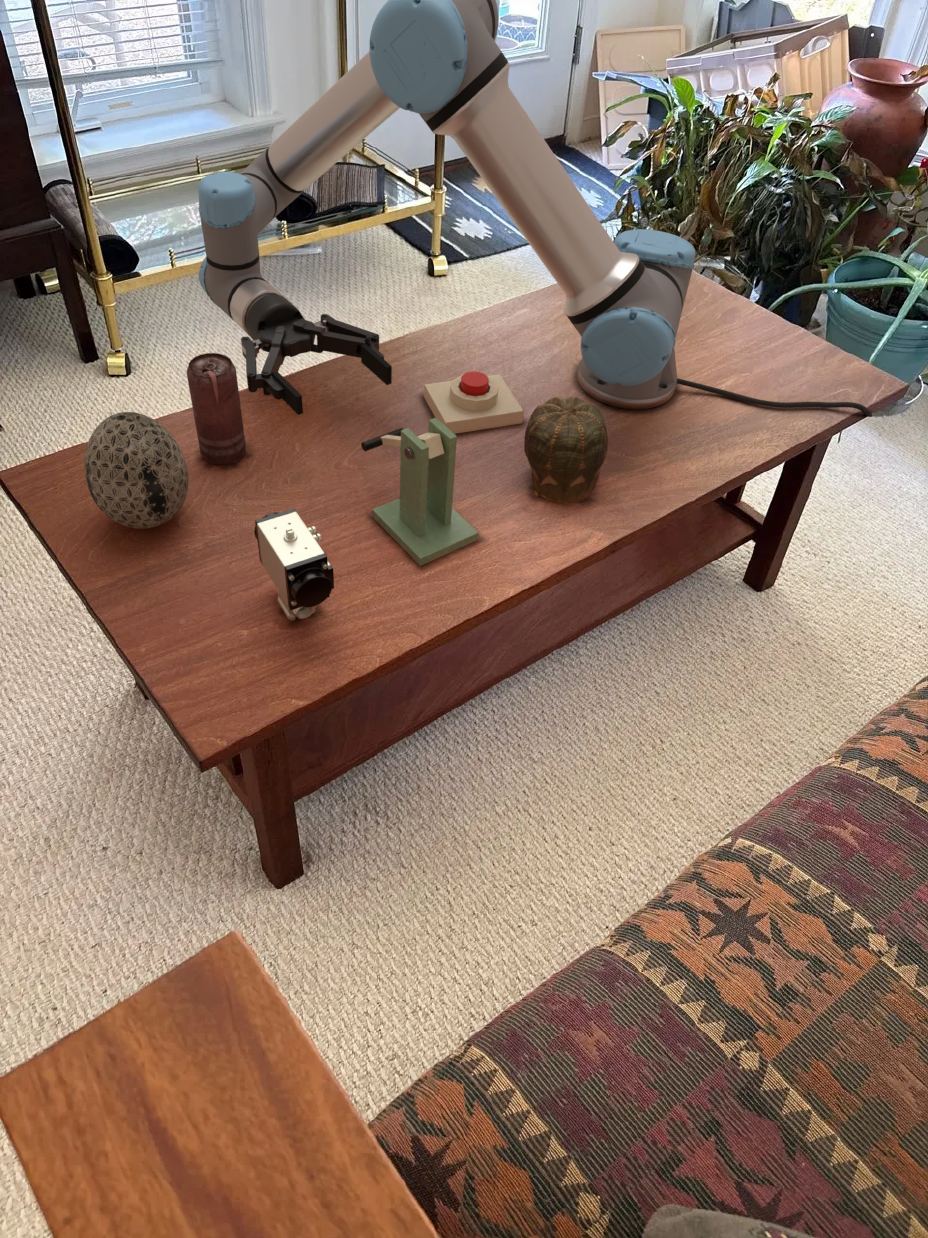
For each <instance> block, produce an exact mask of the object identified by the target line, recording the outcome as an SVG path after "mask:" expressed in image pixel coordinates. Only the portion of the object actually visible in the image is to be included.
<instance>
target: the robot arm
mask: <svg viewBox="0 0 928 1238" xmlns="http://www.w3.org/2000/svg"><path fill="white" fill-rule="evenodd" d="M498 29H499V9H498V3H497V0H387V1H386V2H385V3H384V4H383V5H382V7H381V8H380V10H379V11H378V13H377V14H376V17H375V18H374V21H373V23H372V26H371V31H370V35H369V49H368V50H369V51H367V53H366V54H364V55H363V57H362V58H360V59H359V60H358V61H357V62H356V63H355V64H354V65H353V66H351V68H350V69H348V70H347V72H345V74H344V75H342V76H341V77H340V78H339V79H338V80H337V81H336V82H335V83H334V84H333V85H332V86H331V87H329V89H328V90H327V91H325V92H324V93H323V94H322V95H321V97H319V98H318V99H317V100H316V101H315V102H314V103H313V104H312V105H311V106H310V107H309V108H308V109H307V110H306V111H304V113H302V114H301V116H299V117H298V118H297V119H295V121H294V122H293V123H292V124H291V125H290V126H289V127H288V128H287V129H286V130H284V131H283V132H282V133H281V134H280V135H279V136H278V137H277V138H276V139H275V140H274V141H273V142H272V143H271V144H270V145H269V146H268V147H267V148H266V149H264V150H263V151H262V152H260V154H259V155H257V157H256V158H255V159H254V160H253V161H252V162H250V163H249V165H248V166H246V167H245V168H244V169H243V170H242V171H241V172H240V173H238V172H233V171H218V172H214V173H213V174H207V175H205V176H204V177H202V179H200V181H199V183H198V187H197V194H198V214H199V217H200V223H201V230H202V237H203V238H202V239H203V245H204V250H205V257H204V258H203V260H202V261H201V264H200V267H199V271H198V280H199V284H200V287H201V289H202V290H203V291H204V292H205V293H206V295H207V296H208V297H209V300H210V301H212V303H213V304H214V305H215V306H217V307H218V308H219V309H220V310H221V311H222V312H224V313H225V315H226V316H228V317H229V318H230V319H231V320H232V321H233V322H235V324H236V325H237V326H238V327H239V328H241V330H242V331H244V333H246V334H247V336H242V337H240V345H241V351H242V352H241V353H242V356H243V357H244V359H245V374H246V383H247V391H248V392H250V393H256V392H258V389H262V393H263V395H264V396H268V397H269V396H272V397H273V398H274V399H275V400H278V401H280V400H282V401H283V402H284V403H285V404H286V405H287V406H288V407H289V408H290V409H291V410H292V411H293V412H294V413H295V414H296V415H297V416H300V415H303V414H304V404H303V395H302V394H301V393H300V392H299V391H298V390H297V389H296V388H295V387H294V386H293V385H292V384H291V383H290V382H289V381H288V380H287V379H286V378H285V377H284V376H283V375H282V374H281V373H280V372H279V371H280V368H281V366H283V365H284V363H285V362H284V361H285V359H286V357H290V358H294V357H296V356H298V355H300V354H307V353H310V352H311V353H317V354H322V353H323V352H328V353H333V354H337V355H338V354H339V355H344V356H348V357H353V358H358V359H360V360H361V361H360V363H361V364H362V365H363V366H364V367H366V368H367V369H368V370H369V371H370V372H371V373H372V374H374V375H375V376H376V378H377V379H379V380H381V382H382V383H384V384H385V385H386V386H389V385H391V384H392V383H393V382H392V380H393V379H392V377H393V372H392V370H393V369H392V368H393V366H392V365H391V363H389V362H388V361H387V360H386V359H385V355H384V354H383V353H382V352H381V351H380V334H379V333H376V332H373V331H370V330H367V329H364V328H361V327H358V326H356V325H353V324H349V323H347V322H343V321H341V320H338V319H335V318H334V317H332V316H330V315H329V314H327V313H323V314H320V320H318V321H315V322H312V321H310V320H307V319H305V318H304V316H303V314H302V313H301V311H300V310H299V309H298V307H296V306H295V305H294V304H293V303H292V302H291V301H290V300H289V299H287V298H286V297H285V295H284V294H282V293H281V292H280V291H278V289H276V288H275V287H274V286H273V285H272V284H270V282H269V281H267V280H266V279H265V278H264V277H263V276H262V273H261V265H260V264H261V263H260V248H259V246H260V245H259V238H258V237H259V234H260V233H261V232H262V231H263V230H264V229H265V228H266V227H267V226H269V224H270V223H271V222H272V221H273V220H274V219H275V218H276V217H277V216H278V215H279V214H280V213H281V212H283V211H284V210H285V209H286V208H287V207H288V206H289V205H290V204H292V202H294V201H295V200H296V199H297V198H299V196H301V194H303V193H304V192H305V191H306V190H307V189H308V188H309V187H310V186H311V185H313V184H314V183H315V182H316V181H317V180H318V179H320V178H321V177H322V176H323V175H324V174H325V173H326V172H327V171H329V170H330V169H331V168H332V167H333V166H335V165H336V164H337V163H338V162H339V161H340V160H341V159H343V158H344V157H345V156H346V155H348V153H350V152H351V151H352V150H354V149H355V147H356V146H358V145H359V144H360V143H361V142H362V141H364V140H365V139H366V137H368V136H369V135H371V133H373V132H374V131H375V130H376V129H377V128H378V127H380V126H381V125H382V124H383V123H384V122H386V121H387V120H388V119H389V118H390V117H392V116H393V114H395V113H396V112H397V111H398V110H399V109H402V110H404V111H409V112H411V113H415V114H418V115H419V116H420V117H421V119H422V120H423V122H424V123H425V124H426V126H427V127H428V128H429V129H430V131H431V133H432V134H433V135H440V136H447V137H450V138H452V140H454V142H455V143H456V144H457V146H458V147H459V148H460V150H461V152H462V153H463V154H464V155H465V157H466V158H467V160H468V162H469V163H470V164H471V165H472V167H473V168H474V169H475V170H476V172H477V174H478V175H479V176H480V178H481V179H482V180H483V182H484V183H485V185H486V186H487V187H488V189H489V190H490V192H491V193H492V195H493V196H494V197H495V199H496V200H497V201H498V203H499V204H500V205H501V207H502V209H504V211H505V212H506V214H507V215H508V216H509V219H511V221H512V222H513V224H514V225H515V226H516V228H517V229H518V231H519V232H520V233H521V235H522V236H523V237H524V239H525V241H526V242H527V243H528V245H529V246H530V247H531V249H532V250H533V251H534V253H535V254H536V255H537V257H538V258H539V260H540V261H541V262H542V264H543V265H544V267H545V269H547V271H548V273H550V275H551V276H552V278H553V280H554V281H555V282H556V283H557V284H558V286H559V288H560V289H561V290H562V291H563V294H565V300H564V307H563V312H564V314H565V316H566V318H567V319H568V320H569V322H570V323H571V325H572V326H573V327H574V328H575V329H576V331H577V332H578V334H579V335H580V353H581V359H580V361H579V364H578V369H577V382H578V384H579V386H580V387H581V389H582V390H583V391H584V392H585V394H588V395H589V396H590V397H591V398H593V399H594V400H597V401H598V402H601V403H603V404H604V405H608V406H612V407H615V408H619V409H625V410H645V409H646V410H647V409H652V408H657V407H659V406H661V405H663V404H665V403H666V402H668V401H669V400H670V399H672V397H673V396H674V393H675V391H676V386H677V385H681V386H685V387H689V388H693V389H697V390H701V391H704V392H708V393H713V394H715V395H716V394H717V395H720V396H724V397H727V398H731V399H733V400H737V401H742V402H746V403H749V404H754V405H758V406H763V407H769V408H778V409H779V408H780V409H781V408H783V409H785V408H787V409H794V408H828V409H832V408H833V409H834V408H851V409H856V410H858V411H860V412H862V413H863V414H864V415H865V416H866V417H868V418H872V417H873V414H872V412H871V410H870V409H868V407H866V406H865V405H863V404H860V403H859V402H853V401H834V402H833V401H831V402H830V401H829V402H828V401H827V402H826V401H795V402H794V401H791V402H784V401H783V402H782V401H771V400H765V399H758V398H754V397H750V396H746V395H742V394H739V393H736V392H732V391H729V390H725V389H722V388H721V389H720V388H717V387H713V386H710V385H706V384H702V383H698V382H694V381H691V380H687V379H683V378H678V371H677V362H676V353H675V347H676V341H677V340H676V338H677V335H678V330H679V326H680V322H681V317H682V313H683V309H684V304H685V301H686V297H687V293H688V290H689V286H690V281H691V278H692V273H693V270H694V269H695V268H696V267H695V266H696V265H695V261H696V254H697V252H696V249H695V247H694V245H693V244H692V243H691V242H690V241H688V240H686V239H685V238H683V237H681V236H678V235H675V234H673V233H670V232H665V231H662V230H654V229H643V228H639V229H629V230H624V231H622V232H620V233H619V234H618V235H617V236H616V237H615V238H614V240H613V239H612V237H611V236H610V235H609V233H608V231H607V230H606V229H605V227H604V226H603V225H602V222H600V220H599V219H598V217H597V215H596V214H595V212H594V211H593V210H592V208H591V206H590V205H589V203H588V202H587V200H586V199H585V197H584V196H583V195H582V193H581V191H580V190H579V188H578V187H577V186H576V185H575V183H574V181H573V180H572V178H571V177H570V175H569V174H568V172H567V171H566V169H565V168H564V166H563V165H562V164H561V162H560V160H559V159H558V158H557V156H556V155H555V154H554V152H553V150H552V149H551V148H550V146H549V144H548V143H547V141H546V140H545V139H544V137H543V136H542V134H541V132H540V131H539V130H538V129H537V127H536V125H535V123H534V122H533V121H532V119H531V118H530V117H529V115H528V113H527V112H526V110H525V109H524V107H523V106H522V104H521V103H520V102H519V100H518V99H517V97H516V96H515V94H514V92H513V91H512V89H510V85H509V75H510V68H511V67H510V66H511V65H510V62H509V60H508V59H507V58H506V56H505V54H504V53H503V51H502V49H500V46H498V44H497V42H496V38H497V35H498ZM315 340H316V341H315ZM315 342H316V344H315ZM260 350H261V351H263V352H266V353H268V354H267V356H266V359H265V361H264V364H263V367H262V369H261V372H260V373H258V368H257V366H258V365H257V358H258V354H260Z"/></svg>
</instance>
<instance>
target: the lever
mask: <svg viewBox="0 0 928 1238" xmlns="http://www.w3.org/2000/svg"><path fill="white" fill-rule="evenodd" d="M403 429H404V428H403V427H400V428H398V429H395V430H392V431H389V432H386V433H384V434H380V435H378V436H375V437H372V438H370V439H367V440H364V441H362V442H361V443H360V445H361V449H362V451H364V452H369V451H370V450H373V449H376V448H379V447H381V446H388V447H396V448H401V430H403ZM416 436H417V437H418V438H419V439H421V440H422V441H423V442H424V443H425V444H426V445H427V446H428V447H429V457H428V459H431V458H434V457H436V456H439V455H442V454H444V450H443V445H442V441H441V437H440V434H436V433H428V432H425V433H422V434H420V435H416Z"/></svg>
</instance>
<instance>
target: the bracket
mask: <svg viewBox="0 0 928 1238" xmlns="http://www.w3.org/2000/svg"><path fill="white" fill-rule="evenodd" d="M427 431H428V432H427V433H436V434H440V437H441V441H442V445H443V450H444V454H442V455H439V456H436V457H434V458H431V459H428V457H429V447H428V446H427V445H426V444H425V443H424V442H423V441H422V440H421V439H419V438H418V437H417V436H418V435H416V433H414V432H413V431H412V430H411V429H410V428H409V427H406V428H403V430H401V447H400V456H399V457H400V459H399V460H400V463H399V464H400V465H399V468H400V469H399V472H400V473H399V498H396V499H394V500H391V501H389V502H386V503H384V504H381V505H379V506H376V507H374V508H372V510H371V516H372V518H373V519H374V520H375V521H376V522H377V524H379V525H380V527H382V528H383V529H384V531H386V532H387V534H388V535H389V536H390V537H391V538H392V539H393V540H394V541H395V542H396V543H397V544H398V546H400V547H401V548H402V549H403V550H404V551H405V552H406V553H407V554H408V555H409V556H410V557H411V558H412V559H413V560H414V561H415V562H416V564H417V565H419V567H422V566H424V565H426V564H428V563H431V562H433V561H434V560H437V559H440V558H441V557H444V556H446V555H448V554H450V553H452V552H455V551H457V550H459V549H461V548H463V547H465V546H468V545H470V544H473V543H475V542H477V541H479V537H480V535H479V533H480V532H479V531H478V530H477V529H476V528H475V527H474V526H473V525H472V524H471V523H470V522H468V520H466V518H465V517H463V516H462V515H461V514H460V513H459V512H458V511H457V510H455V508H453V498H454V485H455V471H456V456H457V444H458V443H457V441H458V436H457V435H456V434H454V433H453V432H452V431H450V430H449V429H448V428H447V427H446V426H445V425H444V424H442V423H441V422H440V421H439V420H438V419H437V418H435V417H433V418H431V419H428V430H427Z"/></svg>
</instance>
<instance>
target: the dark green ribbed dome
mask: <svg viewBox="0 0 928 1238" xmlns="http://www.w3.org/2000/svg"><path fill="white" fill-rule="evenodd" d="M523 442H524V443H523V444H524V445H523V446H524V447H523V451H524V455H525V456H526V458H527V461H528V464H529V467H530V470H531V473H530V474H531V485H532V489H533V492H534V495H535V496H536V497H542V498H544V499H545V500H548V501H550V502H553V503H556V504H570V503H571V504H574V503H579V502H584V501H587V499H588V497H589V496H590V495H591V493H592V492H593V491H594V489H595V488H596V485H597V482H598V480H599V477H600V474H601V471H602V466H603V464H604V463H605V460H606V458H607V454H608V450H609V436H608V429H607V425H606V421H605V418H604V416H603V414H602V412H601V411H600V409H599V408H598V407H597V406H595V405H594V404H592V403H587V402H586V401H585V400H583V399H582V398H579V397H578V396H576V395H575V396H570V397H566V398H564V397H561V396H554V397H551V398H550V399H548V400H546V401H545V402H544V403H542V404H540V405H538V406H536V408H534V409H533V411H532V413H531V415H530V417H529V420H528V422H527V426H526V428H525V432H524V441H523Z"/></svg>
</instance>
